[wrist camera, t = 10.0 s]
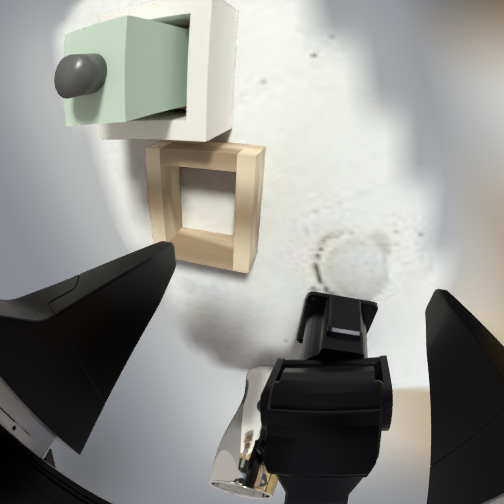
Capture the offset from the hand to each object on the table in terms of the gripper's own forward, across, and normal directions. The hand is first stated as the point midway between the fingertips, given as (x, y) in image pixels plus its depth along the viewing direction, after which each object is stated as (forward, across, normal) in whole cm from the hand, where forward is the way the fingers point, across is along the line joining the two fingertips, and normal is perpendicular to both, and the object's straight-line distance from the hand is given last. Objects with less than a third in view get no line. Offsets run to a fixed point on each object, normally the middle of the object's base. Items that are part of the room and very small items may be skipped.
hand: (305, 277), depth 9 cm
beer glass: (+13, +1, +26) cm, 29 cm away
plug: (+11, +10, -7) cm, 17 cm away
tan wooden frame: (+13, +8, +3) cm, 16 cm away
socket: (+13, +10, -7) cm, 18 cm away
